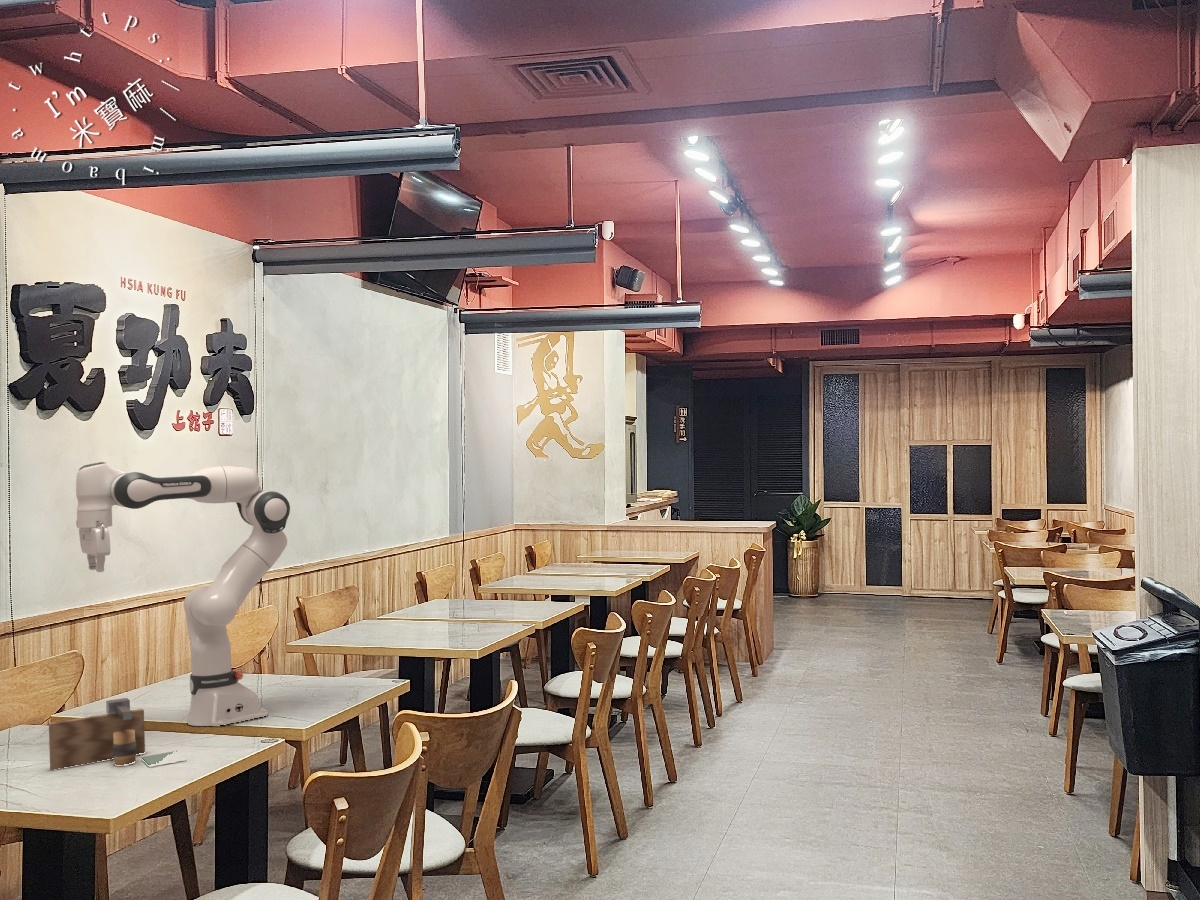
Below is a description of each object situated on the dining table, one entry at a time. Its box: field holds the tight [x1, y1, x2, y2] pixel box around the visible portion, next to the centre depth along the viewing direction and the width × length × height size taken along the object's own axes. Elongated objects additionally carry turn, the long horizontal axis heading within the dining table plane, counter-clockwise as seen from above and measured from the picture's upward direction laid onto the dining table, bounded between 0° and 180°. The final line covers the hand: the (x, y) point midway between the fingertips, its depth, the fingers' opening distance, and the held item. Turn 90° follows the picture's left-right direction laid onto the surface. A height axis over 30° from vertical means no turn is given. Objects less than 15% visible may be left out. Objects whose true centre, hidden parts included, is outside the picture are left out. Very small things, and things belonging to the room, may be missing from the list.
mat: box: [140, 750, 178, 765], centre depth 270 cm, size 9×9×1 cm
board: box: [48, 708, 146, 771], centre depth 271 cm, size 22×2×12 cm, turn 125°
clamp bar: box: [105, 697, 132, 720], centre depth 270 cm, size 5×14×3 cm, turn 35°
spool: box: [113, 730, 137, 765], centre depth 269 cm, size 5×5×8 cm
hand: (96, 570), depth 294 cm, fingers open, 8 cm apart
